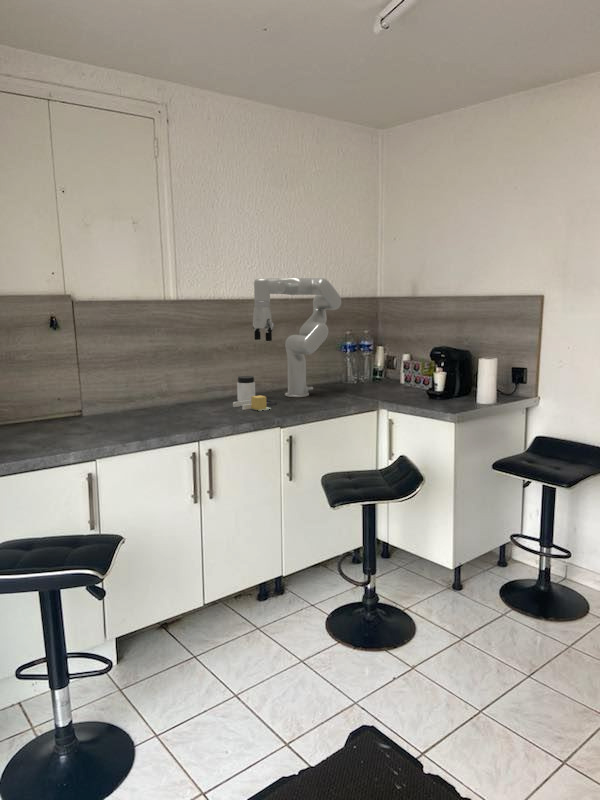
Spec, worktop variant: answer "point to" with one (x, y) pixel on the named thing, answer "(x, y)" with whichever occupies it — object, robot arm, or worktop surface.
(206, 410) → the worktop surface
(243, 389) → the jar
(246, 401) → the channel
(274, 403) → the tray
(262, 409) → the coaster
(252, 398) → the block
